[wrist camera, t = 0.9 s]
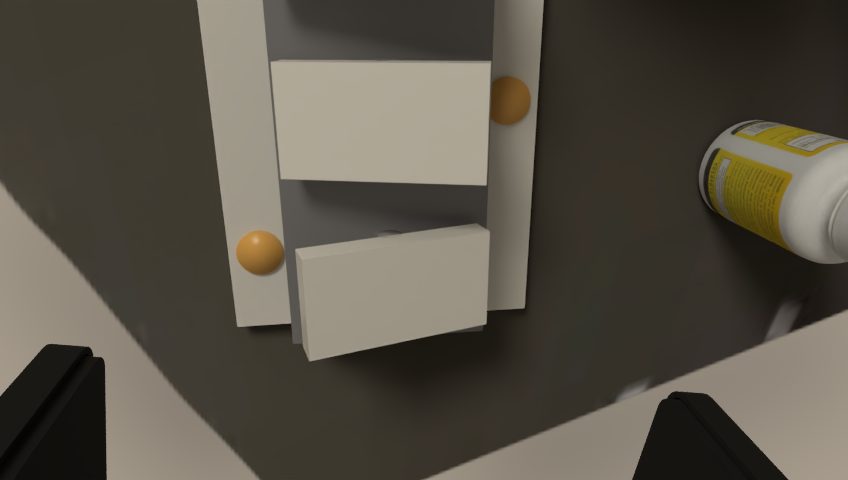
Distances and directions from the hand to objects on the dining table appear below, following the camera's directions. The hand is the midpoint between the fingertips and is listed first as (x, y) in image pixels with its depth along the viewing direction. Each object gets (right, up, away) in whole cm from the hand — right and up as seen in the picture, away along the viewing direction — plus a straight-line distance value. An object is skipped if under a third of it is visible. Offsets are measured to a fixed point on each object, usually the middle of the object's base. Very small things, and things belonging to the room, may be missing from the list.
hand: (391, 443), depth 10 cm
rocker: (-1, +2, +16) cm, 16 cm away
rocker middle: (-1, +8, +14) cm, 16 cm away
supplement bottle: (+18, +7, +23) cm, 30 cm away
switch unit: (-2, +10, +19) cm, 21 cm away
